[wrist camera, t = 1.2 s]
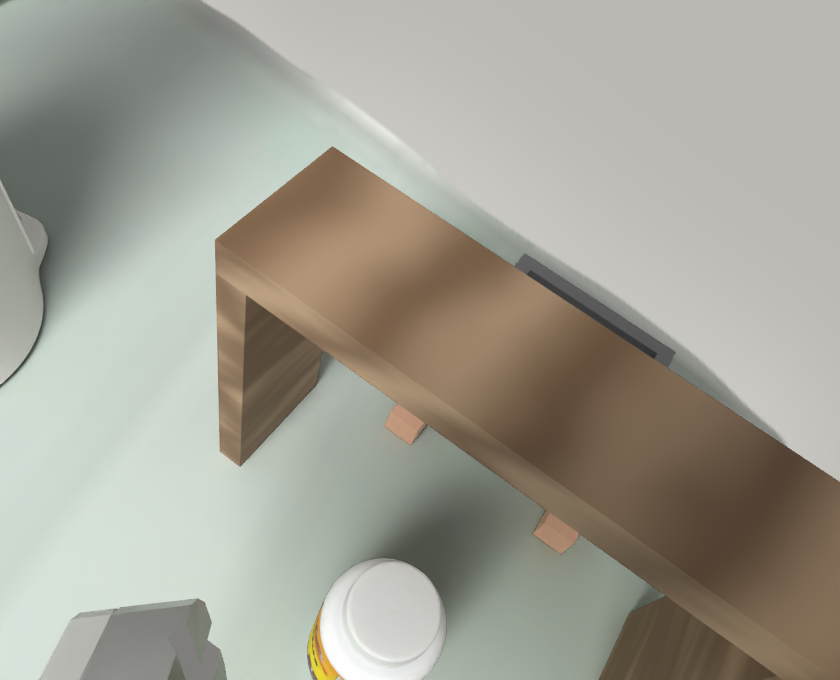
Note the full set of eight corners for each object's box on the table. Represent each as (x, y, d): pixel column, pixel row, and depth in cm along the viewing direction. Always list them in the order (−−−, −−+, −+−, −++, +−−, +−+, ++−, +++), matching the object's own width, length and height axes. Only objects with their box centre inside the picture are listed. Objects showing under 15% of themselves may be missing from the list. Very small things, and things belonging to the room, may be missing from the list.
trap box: (457, 348, 50) (473, 315, 46) (506, 287, 53) (524, 253, 50) (607, 452, 48) (635, 426, 44) (647, 381, 52) (675, 352, 48)
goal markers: (384, 426, 45) (390, 411, 44) (435, 363, 49) (443, 347, 47) (560, 554, 43) (573, 543, 42) (601, 479, 47) (615, 467, 45)
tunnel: (219, 451, 42) (215, 239, 26) (297, 371, 46) (332, 146, 30) (602, 743, 38) (860, 696, 23) (651, 629, 42) (901, 522, 26)
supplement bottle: (330, 582, 40) (357, 520, 31) (424, 621, 40) (477, 570, 31) (286, 688, 36) (304, 651, 28) (389, 731, 36) (438, 707, 28)
